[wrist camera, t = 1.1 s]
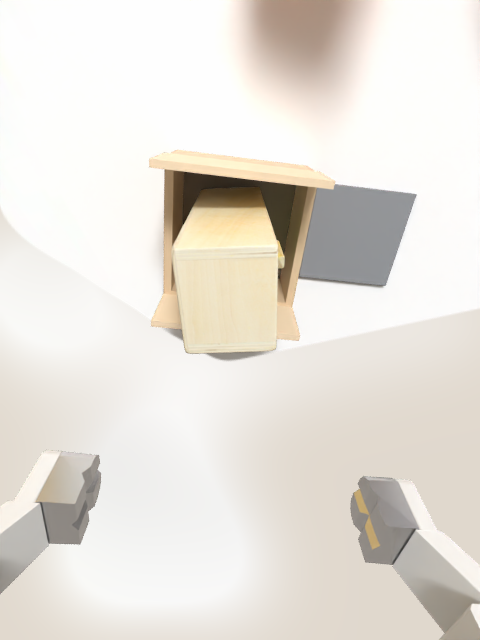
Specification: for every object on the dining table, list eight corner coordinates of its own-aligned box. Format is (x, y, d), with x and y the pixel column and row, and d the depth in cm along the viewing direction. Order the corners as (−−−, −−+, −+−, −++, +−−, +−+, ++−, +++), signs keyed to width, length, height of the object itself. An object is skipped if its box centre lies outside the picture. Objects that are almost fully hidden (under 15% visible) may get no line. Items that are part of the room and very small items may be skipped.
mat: (414, 193, 40) (416, 194, 39) (384, 284, 45) (385, 285, 45) (317, 182, 39) (318, 182, 39) (298, 274, 44) (299, 276, 44)
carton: (307, 163, 38) (335, 181, 27) (284, 286, 45) (298, 340, 34) (177, 147, 38) (149, 158, 26) (174, 274, 44) (151, 326, 33)
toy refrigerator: (267, 255, 43) (286, 352, 25) (207, 257, 43) (181, 355, 25) (267, 186, 39) (290, 241, 21) (201, 188, 40) (166, 245, 21)
